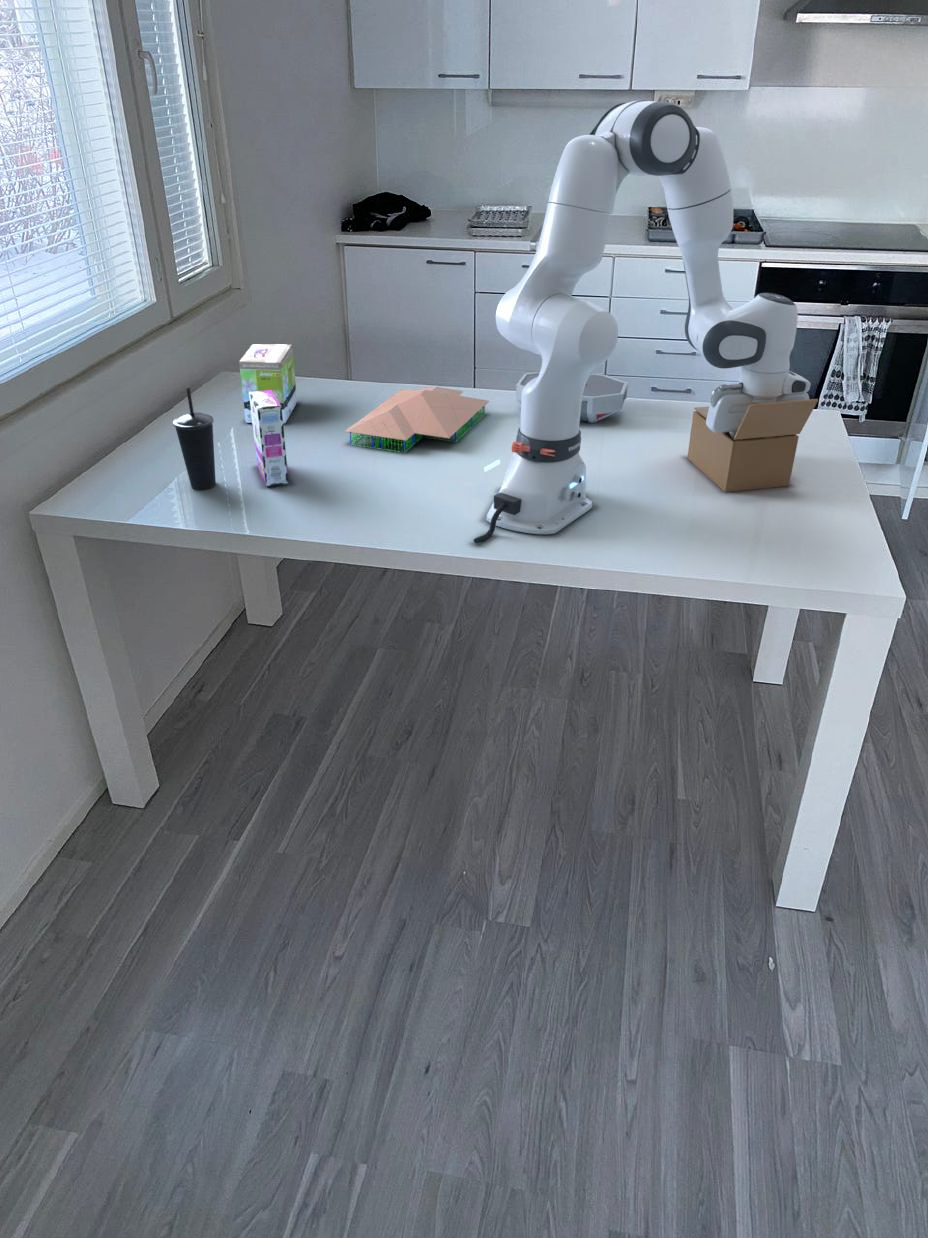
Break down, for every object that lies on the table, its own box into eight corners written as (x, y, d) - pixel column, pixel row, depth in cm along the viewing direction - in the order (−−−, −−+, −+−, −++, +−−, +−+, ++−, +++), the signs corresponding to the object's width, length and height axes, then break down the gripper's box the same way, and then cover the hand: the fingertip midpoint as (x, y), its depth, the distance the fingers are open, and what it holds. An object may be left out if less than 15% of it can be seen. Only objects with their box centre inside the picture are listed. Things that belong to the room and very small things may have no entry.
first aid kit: (511, 421, 220) (617, 431, 214) (512, 390, 216) (620, 399, 210) (527, 397, 234) (627, 406, 229) (528, 368, 230) (630, 376, 225)
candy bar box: (290, 484, 189) (282, 405, 180) (266, 487, 188) (256, 408, 179) (280, 464, 198) (272, 388, 189) (256, 467, 197) (247, 390, 188)
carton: (788, 485, 189) (799, 432, 183) (725, 492, 186) (733, 438, 180) (746, 452, 204) (755, 402, 198) (687, 458, 201) (694, 407, 195)
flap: (799, 432, 183) (799, 433, 183) (733, 438, 180) (734, 439, 180) (817, 398, 176) (818, 400, 175) (749, 404, 173) (750, 405, 173)
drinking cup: (189, 495, 184) (172, 397, 174) (180, 481, 190) (163, 385, 180) (227, 488, 187) (213, 390, 177) (217, 474, 193) (203, 379, 182)
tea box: (287, 424, 218) (281, 361, 210) (244, 423, 218) (236, 360, 210) (298, 402, 231) (292, 342, 223) (257, 402, 231) (250, 342, 223)
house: (492, 410, 226) (493, 377, 222) (441, 459, 200) (441, 423, 196) (406, 399, 233) (404, 366, 229) (345, 445, 207) (343, 409, 203)
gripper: (720, 390, 176) (710, 459, 183) (818, 382, 180) (804, 450, 187) (706, 379, 181) (696, 447, 189) (801, 372, 185) (788, 439, 193)
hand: (751, 448), depth 188 cm, fingers closed on cork, 4 cm apart
